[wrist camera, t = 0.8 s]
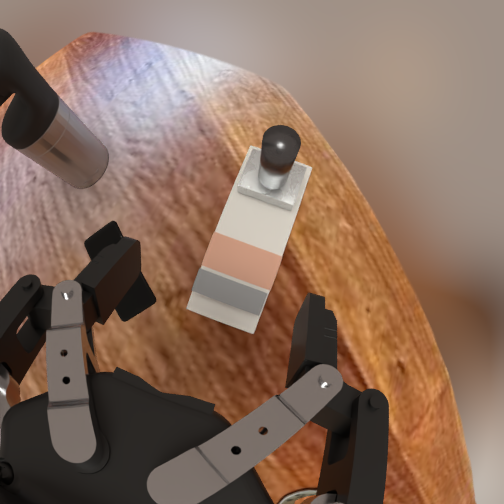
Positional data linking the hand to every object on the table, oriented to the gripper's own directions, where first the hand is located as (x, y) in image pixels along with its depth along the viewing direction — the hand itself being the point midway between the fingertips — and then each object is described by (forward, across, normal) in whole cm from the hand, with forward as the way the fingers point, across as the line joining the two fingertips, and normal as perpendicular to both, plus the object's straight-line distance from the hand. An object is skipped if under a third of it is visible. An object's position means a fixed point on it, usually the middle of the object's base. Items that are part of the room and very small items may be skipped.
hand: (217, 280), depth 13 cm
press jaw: (+30, 0, +7) cm, 31 cm away
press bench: (+26, +1, +14) cm, 30 cm away
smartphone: (+19, +19, +22) cm, 35 cm away
